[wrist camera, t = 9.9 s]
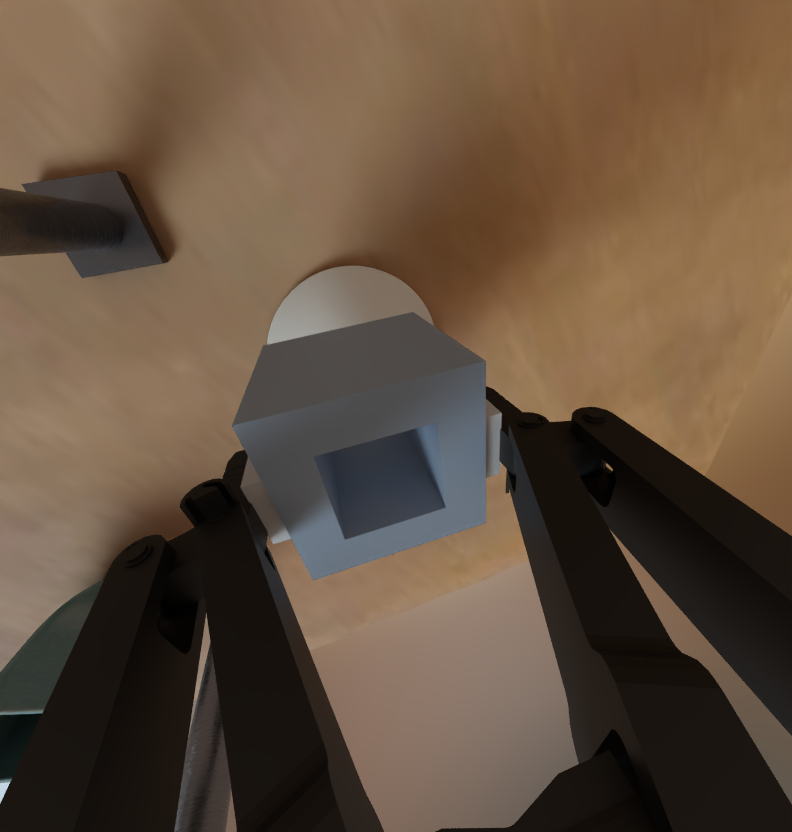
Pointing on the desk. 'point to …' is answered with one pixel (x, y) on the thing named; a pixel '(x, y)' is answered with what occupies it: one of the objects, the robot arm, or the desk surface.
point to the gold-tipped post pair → (95, 255)
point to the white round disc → (343, 302)
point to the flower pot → (37, 677)
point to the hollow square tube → (368, 439)
